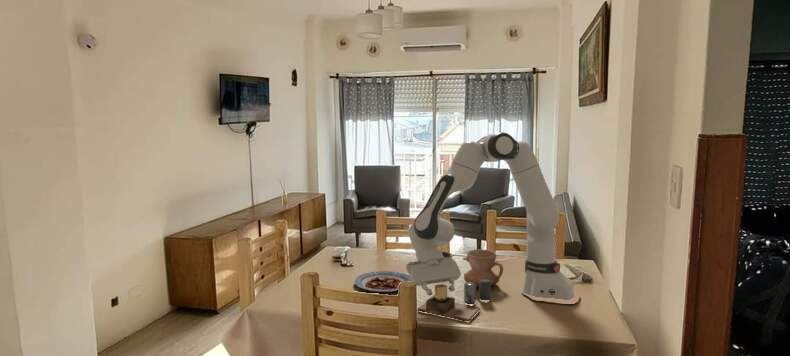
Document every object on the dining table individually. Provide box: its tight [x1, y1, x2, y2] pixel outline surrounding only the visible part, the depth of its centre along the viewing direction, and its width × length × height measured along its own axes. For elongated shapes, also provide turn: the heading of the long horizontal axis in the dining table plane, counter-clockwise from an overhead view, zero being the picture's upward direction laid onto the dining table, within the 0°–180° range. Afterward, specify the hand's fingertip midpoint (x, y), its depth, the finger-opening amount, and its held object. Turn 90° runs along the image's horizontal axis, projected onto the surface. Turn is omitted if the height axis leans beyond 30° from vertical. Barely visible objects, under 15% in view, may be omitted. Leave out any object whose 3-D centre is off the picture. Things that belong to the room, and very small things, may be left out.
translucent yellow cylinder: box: [434, 283, 448, 304], centre depth 181 cm, size 4×4×8 cm
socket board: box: [417, 294, 481, 322], centre depth 181 cm, size 20×12×4 cm, turn 61°
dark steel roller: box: [463, 281, 477, 304], centre depth 188 cm, size 4×4×8 cm
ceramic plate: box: [354, 270, 410, 293], centre depth 211 cm, size 26×26×3 cm
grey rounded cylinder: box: [478, 279, 492, 300], centre depth 191 cm, size 4×4×8 cm
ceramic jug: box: [462, 249, 504, 288], centre depth 209 cm, size 18×14×14 cm
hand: (441, 292), depth 180 cm, fingers open, 8 cm apart
